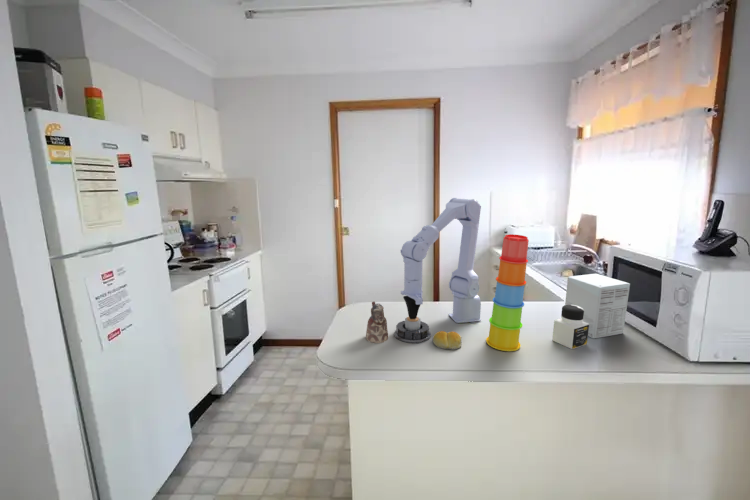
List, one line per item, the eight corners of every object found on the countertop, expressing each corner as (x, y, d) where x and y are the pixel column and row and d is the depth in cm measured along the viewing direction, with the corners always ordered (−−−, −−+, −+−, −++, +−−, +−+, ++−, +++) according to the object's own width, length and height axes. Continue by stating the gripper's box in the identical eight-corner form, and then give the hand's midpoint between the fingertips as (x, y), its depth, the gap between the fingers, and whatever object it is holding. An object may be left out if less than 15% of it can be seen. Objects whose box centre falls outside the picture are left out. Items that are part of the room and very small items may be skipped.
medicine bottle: (572, 349, 112) (576, 312, 110) (551, 340, 118) (555, 305, 116) (587, 344, 115) (591, 308, 113) (566, 336, 122) (570, 301, 119)
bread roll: (433, 337, 122) (434, 326, 121) (461, 340, 120) (462, 328, 119) (431, 348, 114) (431, 336, 113) (461, 352, 112) (461, 339, 111)
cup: (417, 329, 126) (417, 314, 125) (422, 335, 121) (422, 320, 120) (403, 331, 125) (403, 316, 124) (407, 337, 120) (407, 322, 119)
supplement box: (624, 333, 123) (631, 283, 119) (593, 339, 119) (600, 287, 115) (590, 319, 135) (596, 272, 132) (561, 323, 132) (566, 276, 128)
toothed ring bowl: (424, 326, 130) (424, 318, 129) (435, 341, 118) (435, 332, 118) (390, 329, 128) (390, 320, 127) (399, 344, 116) (399, 335, 116)
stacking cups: (505, 335, 123) (513, 231, 115) (527, 348, 113) (537, 237, 106) (479, 339, 119) (485, 233, 112) (499, 354, 110) (507, 239, 103)
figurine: (370, 344, 117) (370, 308, 114) (363, 335, 123) (362, 301, 121) (391, 340, 119) (391, 305, 117) (382, 332, 126) (382, 298, 123)
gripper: (395, 273, 125) (395, 310, 128) (407, 285, 111) (406, 327, 114) (415, 271, 127) (415, 309, 129) (429, 284, 113) (428, 325, 116)
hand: (412, 317), depth 122 cm, fingers closed
